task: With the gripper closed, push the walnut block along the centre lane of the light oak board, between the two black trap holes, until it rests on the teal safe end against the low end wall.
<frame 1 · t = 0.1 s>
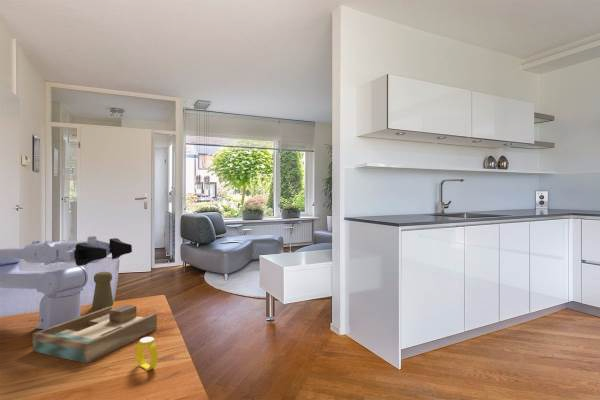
hand: (118, 250, 84), 22 cm above the table, tool horizontal, fingers open, 7 cm apart
walnut block: (123, 319, 89), point 2 cm above the table, touching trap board
watch: (146, 368, 68), on the table
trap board: (99, 338, 82), on the table
cork: (102, 306, 107), on the table
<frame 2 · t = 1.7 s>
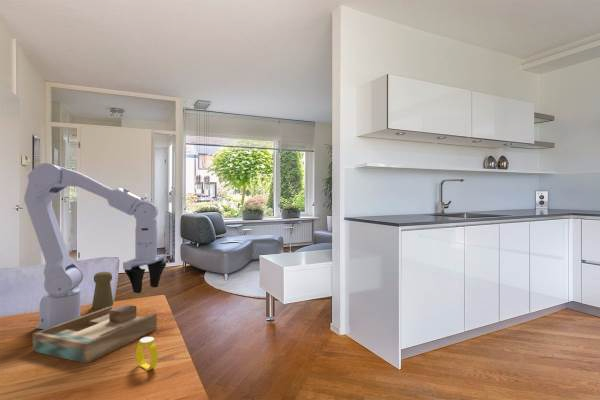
hand: (146, 289, 96), 8 cm above the table, tool pointing down, fingers open, 6 cm apart
nothing on the table moved.
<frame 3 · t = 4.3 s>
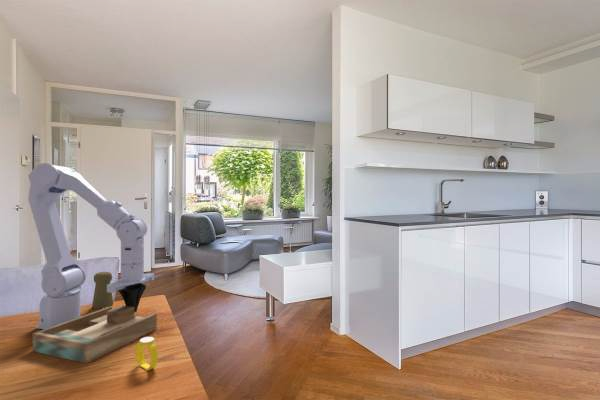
hand: (132, 311, 92), 3 cm above the table, tool pointing down, fingers closed
walnut block: (120, 320, 88), point 2 cm above the table, touching gripper, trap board
everything else where it was.
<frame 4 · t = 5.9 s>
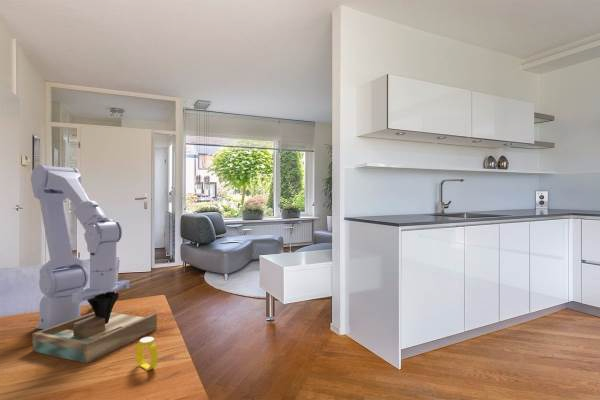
hand: (103, 323, 83), 4 cm above the table, tool pointing down, fingers closed
walnut block: (89, 333, 79), point 3 cm above the table, touching gripper, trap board
everything else where it was.
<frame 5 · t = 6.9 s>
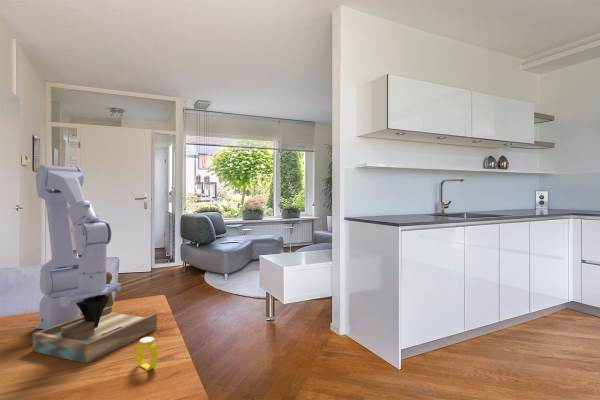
hand: (92, 327, 80), 4 cm above the table, tool pointing down, fingers closed
walnut block: (78, 337, 77), point 2 cm above the table, touching gripper, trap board
everything else where it was.
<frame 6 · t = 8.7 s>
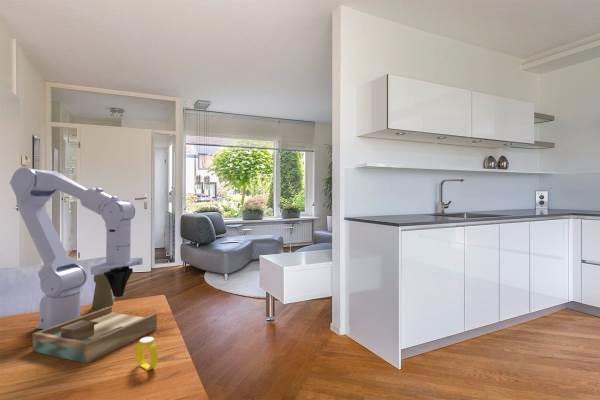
hand: (118, 296, 89), 9 cm above the table, tool pointing down, fingers closed
walnut block: (77, 337, 77), point 2 cm above the table, touching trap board
everything else where it was.
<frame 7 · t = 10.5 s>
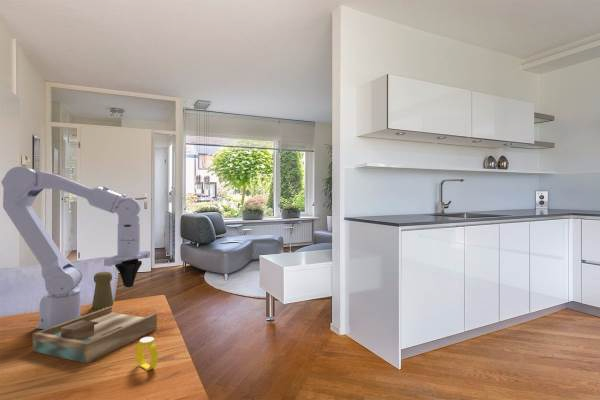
hand: (128, 286, 96), 9 cm above the table, tool pointing down, fingers closed
nothing on the table moved.
at the end: walnut block 1.3 cm from the target spot on the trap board, point 2.5 cm above the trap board's base; walnut block tilted 0°; walnut block moved 12.7 cm from its start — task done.
